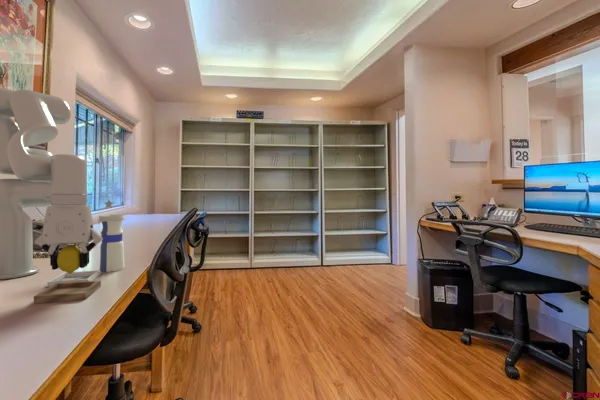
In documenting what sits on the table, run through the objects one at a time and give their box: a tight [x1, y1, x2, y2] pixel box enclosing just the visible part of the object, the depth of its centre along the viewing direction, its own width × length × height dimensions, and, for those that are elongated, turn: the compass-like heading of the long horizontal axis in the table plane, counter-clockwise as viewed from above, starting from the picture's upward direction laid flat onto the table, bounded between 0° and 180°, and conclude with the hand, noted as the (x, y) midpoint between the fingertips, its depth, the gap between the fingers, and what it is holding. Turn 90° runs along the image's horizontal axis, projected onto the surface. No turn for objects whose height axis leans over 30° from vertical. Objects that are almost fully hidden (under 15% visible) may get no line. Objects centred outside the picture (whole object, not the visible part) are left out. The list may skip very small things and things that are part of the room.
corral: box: [46, 269, 101, 288], centre depth 92 cm, size 10×10×1 cm
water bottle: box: [97, 199, 126, 273], centre depth 104 cm, size 8×9×25 cm
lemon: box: [57, 244, 82, 274], centre depth 79 cm, size 6×6×8 cm
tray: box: [33, 279, 102, 305], centre depth 79 cm, size 11×11×2 cm
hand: (70, 266), depth 79 cm, fingers closed on lemon, 5 cm apart
